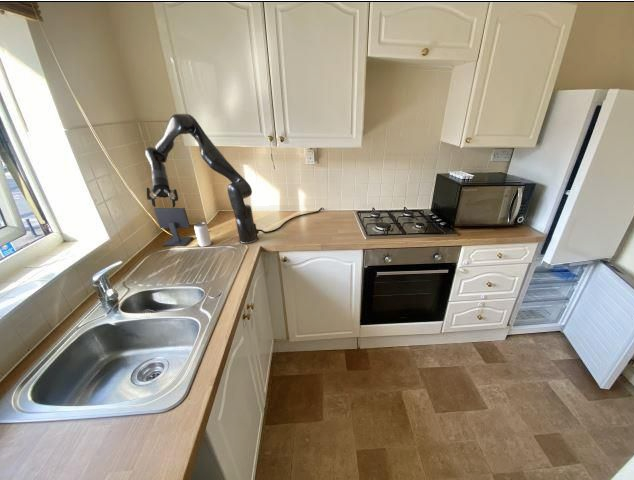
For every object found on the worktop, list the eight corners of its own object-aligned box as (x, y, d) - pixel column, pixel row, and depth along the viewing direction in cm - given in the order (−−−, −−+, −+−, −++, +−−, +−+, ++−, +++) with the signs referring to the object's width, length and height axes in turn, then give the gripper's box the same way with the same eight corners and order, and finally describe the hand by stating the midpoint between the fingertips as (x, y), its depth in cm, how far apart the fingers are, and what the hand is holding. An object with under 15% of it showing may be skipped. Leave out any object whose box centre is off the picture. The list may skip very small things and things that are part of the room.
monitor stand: (172, 238, 163) (166, 219, 157) (193, 238, 164) (187, 218, 158) (163, 246, 155) (156, 225, 149) (185, 245, 155) (178, 225, 149)
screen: (161, 227, 156) (154, 208, 151) (190, 226, 157) (184, 207, 151) (160, 228, 155) (153, 208, 150) (189, 227, 155) (183, 208, 150)
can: (199, 242, 158) (193, 223, 152) (212, 241, 160) (206, 221, 154) (198, 247, 153) (192, 227, 147) (211, 245, 155) (206, 225, 149)
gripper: (144, 175, 148) (148, 202, 144) (175, 177, 156) (180, 203, 153) (144, 183, 153) (148, 209, 150) (174, 185, 162) (178, 210, 158)
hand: (164, 206), depth 151 cm, fingers open, 8 cm apart
